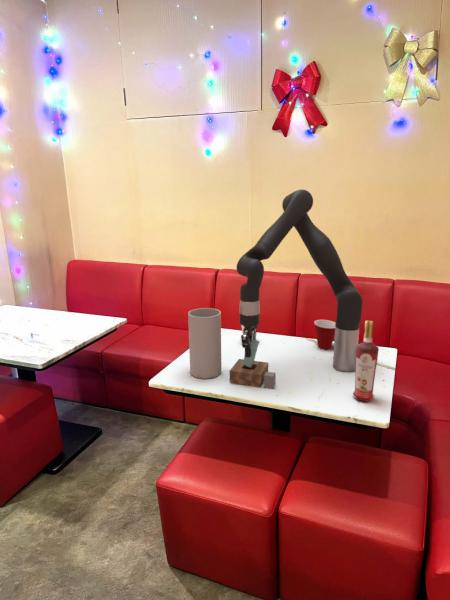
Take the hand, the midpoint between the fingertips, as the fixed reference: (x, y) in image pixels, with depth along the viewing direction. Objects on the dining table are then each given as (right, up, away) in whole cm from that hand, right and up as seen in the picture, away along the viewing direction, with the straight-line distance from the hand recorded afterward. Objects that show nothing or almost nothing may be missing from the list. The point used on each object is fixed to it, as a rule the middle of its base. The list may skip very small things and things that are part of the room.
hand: (249, 354), depth 162 cm
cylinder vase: (-17, -8, +8) cm, 20 cm away
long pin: (0, -4, +1) cm, 4 cm away
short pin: (+7, -11, -4) cm, 14 cm away
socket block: (0, -9, +2) cm, 10 cm away
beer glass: (+2, 0, +40) cm, 40 cm away
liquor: (+39, -14, -14) cm, 43 cm away
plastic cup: (+37, -1, +33) cm, 49 cm away
